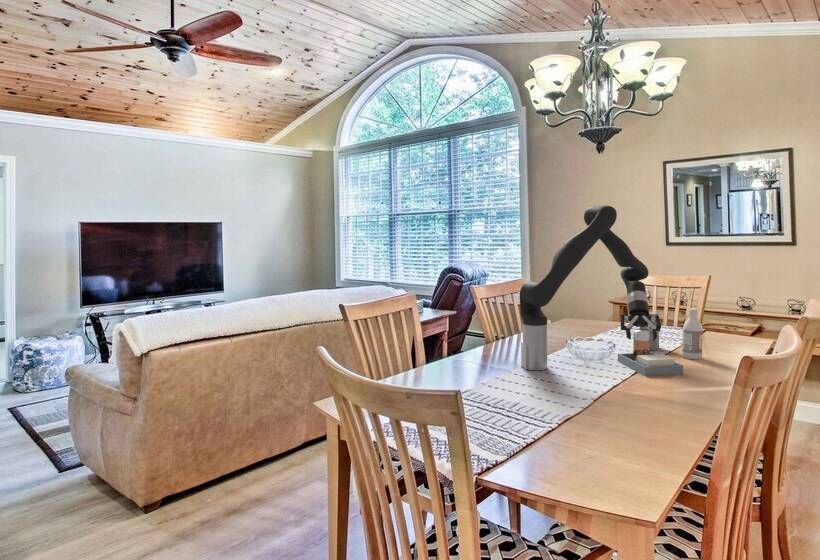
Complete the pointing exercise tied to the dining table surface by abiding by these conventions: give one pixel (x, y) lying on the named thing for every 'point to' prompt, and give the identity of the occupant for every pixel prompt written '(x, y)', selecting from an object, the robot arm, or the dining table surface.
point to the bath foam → (692, 336)
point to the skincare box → (653, 343)
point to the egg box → (655, 360)
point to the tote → (649, 371)
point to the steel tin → (641, 343)
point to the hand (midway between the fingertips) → (641, 338)
